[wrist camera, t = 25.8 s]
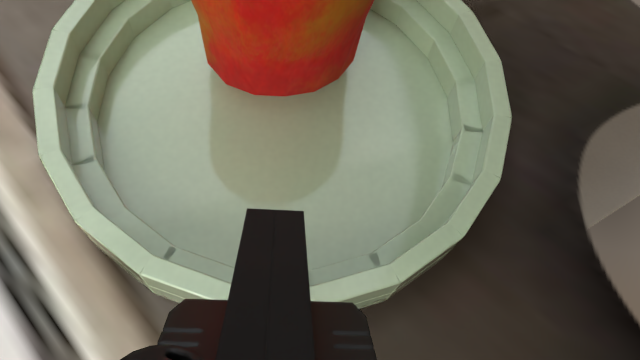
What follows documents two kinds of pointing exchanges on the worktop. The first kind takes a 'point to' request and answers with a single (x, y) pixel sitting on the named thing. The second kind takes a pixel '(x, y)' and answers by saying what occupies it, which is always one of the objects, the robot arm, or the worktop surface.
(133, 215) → the bowl
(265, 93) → the apple
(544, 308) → the worktop surface
